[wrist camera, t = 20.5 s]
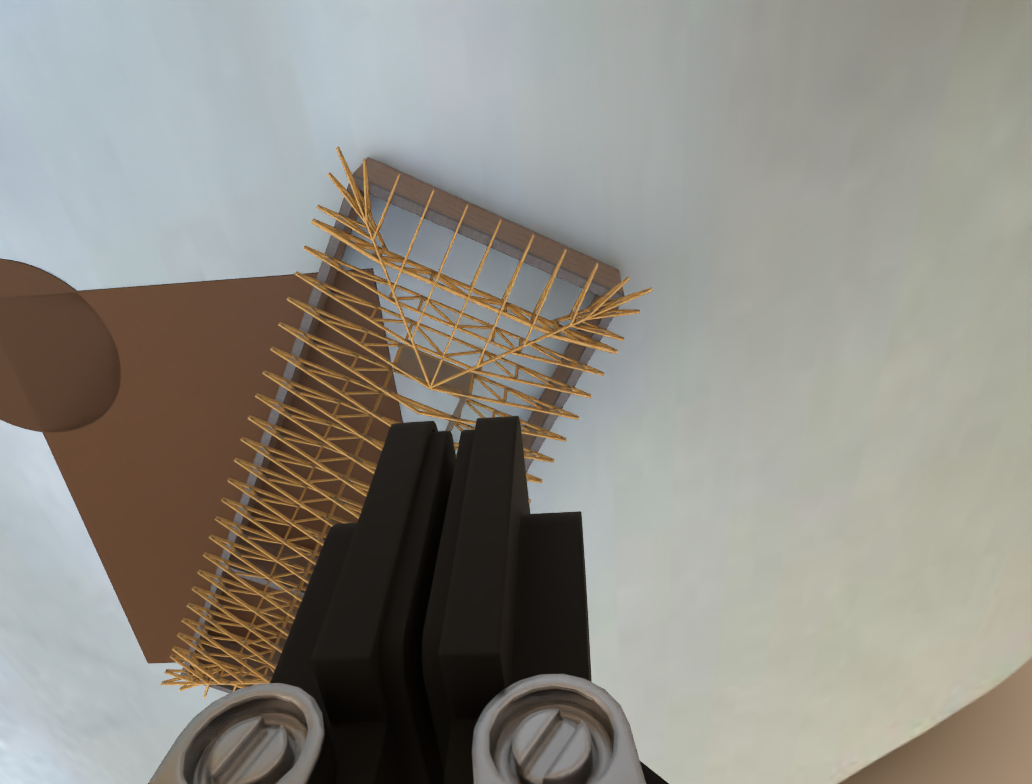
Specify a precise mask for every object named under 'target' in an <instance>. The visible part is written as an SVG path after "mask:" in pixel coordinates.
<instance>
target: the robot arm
mask: <svg viewBox="0 0 1032 784" xmlns="http://www.w3.org/2000/svg"><path fill="white" fill-rule="evenodd" d="M148 784H668V783H667V782H666V781H665V780H663V779H662V778H661V777H660V776H658V775H657V774H656V773H655V772H653V771H652V770H651V769H650V768H648V767H647V766H646V765H644V764H643V763H642V762H641V761H640V760H639V757H638V753H637V749H636V746H635V742H634V738H633V735H632V731H631V728H630V724H629V722H628V720H627V718H626V716H625V714H624V712H623V710H622V708H621V706H620V704H619V703H618V702H617V701H616V700H615V699H614V698H613V697H612V696H611V695H610V694H609V693H608V692H607V691H606V690H605V689H603V688H601V687H599V686H598V685H596V684H594V683H592V682H591V664H590V645H589V626H588V608H587V591H586V575H585V559H584V544H583V529H582V516H581V512H562V513H542V514H530V508H529V498H528V489H527V480H526V470H525V461H524V452H523V442H522V433H521V425H520V419H519V416H509V417H492V418H478V419H477V421H476V426H475V429H473V430H462V431H461V435H460V440H459V446H458V451H457V456H456V455H455V449H454V442H453V437H452V434H451V432H450V431H439V432H438V429H437V426H436V423H435V422H434V421H425V422H409V423H394V424H392V425H391V427H390V429H389V432H388V434H387V437H386V440H385V443H384V446H383V449H382V452H381V455H380V458H379V461H378V464H377V467H376V470H375V472H374V475H373V478H372V481H371V484H370V487H369V490H368V493H367V496H366V499H365V502H364V505H363V508H362V511H361V513H360V516H359V519H358V522H357V523H340V524H335V525H334V526H332V527H331V529H330V531H329V532H328V534H327V536H326V539H325V542H324V544H323V547H322V549H321V552H320V555H319V557H318V560H317V562H316V565H315V567H314V570H313V573H312V575H311V578H310V580H309V583H308V586H307V588H306V591H305V593H304V596H303V599H302V601H301V604H300V606H299V609H298V611H297V614H296V617H295V619H294V622H293V624H292V627H291V630H290V632H289V635H288V637H287V640H286V642H285V645H284V648H283V650H282V653H281V655H280V658H279V661H278V663H277V666H276V668H275V671H274V674H273V676H272V679H271V681H270V683H265V684H256V685H253V686H249V687H245V688H242V689H238V690H235V691H233V692H232V693H230V694H228V695H226V696H224V697H222V698H220V699H218V700H216V701H214V702H213V703H211V704H210V705H209V706H208V707H206V708H205V709H204V710H203V711H202V712H200V713H199V714H198V715H197V716H195V717H194V718H193V719H192V720H191V722H190V723H189V724H188V725H187V726H186V728H185V729H184V730H183V731H182V733H181V734H180V735H179V736H178V738H177V739H176V741H175V742H174V744H173V745H172V747H171V748H170V750H169V752H168V753H167V755H166V756H165V758H164V759H163V761H162V763H161V764H160V766H159V767H158V769H157V770H156V772H155V773H154V775H153V777H152V778H151V780H150V781H149V783H148Z"/></svg>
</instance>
